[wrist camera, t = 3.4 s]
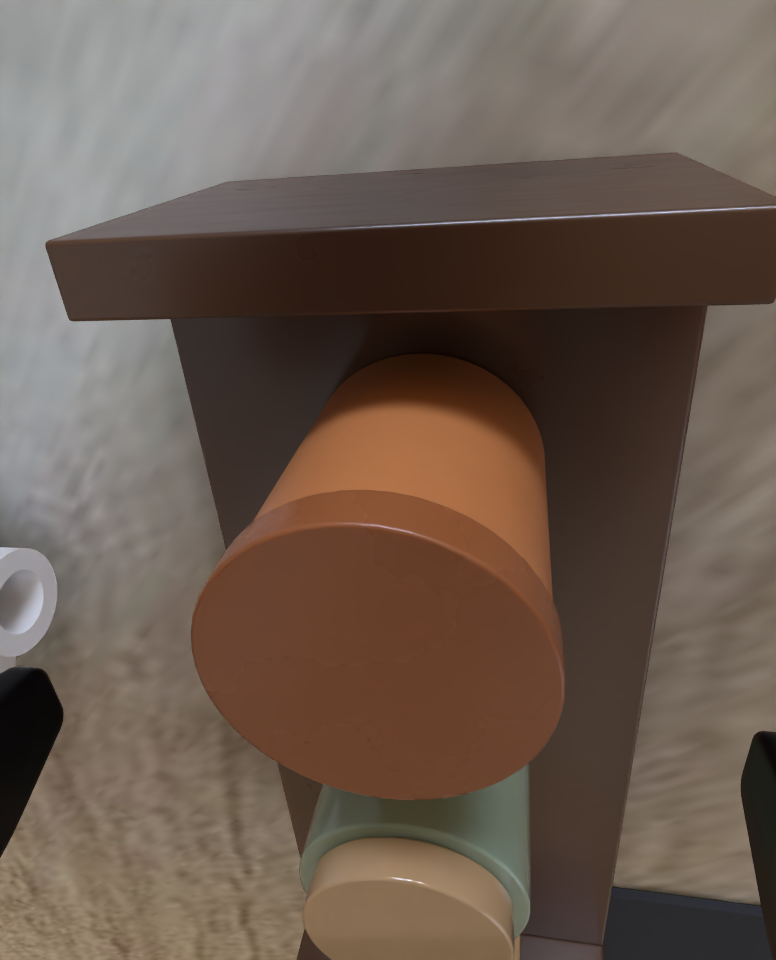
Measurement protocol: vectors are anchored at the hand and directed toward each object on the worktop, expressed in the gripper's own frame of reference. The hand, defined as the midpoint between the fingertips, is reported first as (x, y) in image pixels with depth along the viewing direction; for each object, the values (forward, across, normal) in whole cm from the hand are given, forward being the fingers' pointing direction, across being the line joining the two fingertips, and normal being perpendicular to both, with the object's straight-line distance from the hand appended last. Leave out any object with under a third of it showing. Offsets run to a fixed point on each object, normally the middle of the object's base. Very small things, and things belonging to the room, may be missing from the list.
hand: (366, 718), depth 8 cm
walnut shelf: (+10, 0, +7) cm, 13 cm away
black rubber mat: (+11, -9, +26) cm, 29 cm away
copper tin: (+6, 0, 0) cm, 7 cm away
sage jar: (+6, 0, +7) cm, 9 cm away
